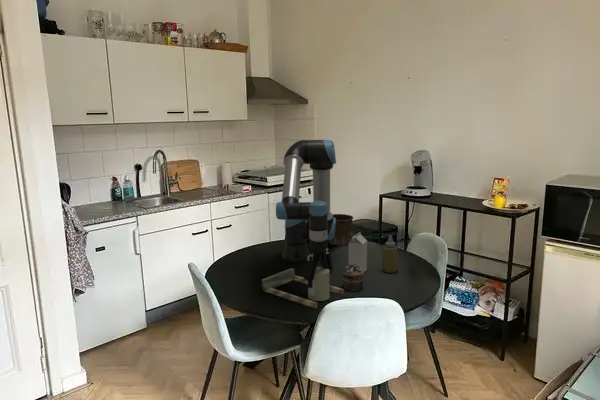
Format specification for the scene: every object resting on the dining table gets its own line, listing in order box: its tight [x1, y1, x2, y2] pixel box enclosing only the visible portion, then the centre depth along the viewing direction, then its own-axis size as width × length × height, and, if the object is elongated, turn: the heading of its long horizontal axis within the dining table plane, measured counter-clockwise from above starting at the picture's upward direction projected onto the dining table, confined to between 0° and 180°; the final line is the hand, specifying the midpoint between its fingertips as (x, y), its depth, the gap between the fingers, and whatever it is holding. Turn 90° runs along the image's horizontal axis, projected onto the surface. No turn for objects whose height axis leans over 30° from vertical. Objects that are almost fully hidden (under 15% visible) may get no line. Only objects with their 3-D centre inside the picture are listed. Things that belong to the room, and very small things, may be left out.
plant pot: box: [328, 213, 354, 247], centre depth 268 cm, size 16×16×16 cm
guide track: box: [261, 267, 345, 309], centre depth 195 cm, size 30×19×5 cm, turn 49°
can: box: [307, 266, 331, 302], centre depth 188 cm, size 9×9×12 cm
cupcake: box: [341, 264, 365, 292], centre depth 199 cm, size 10×10×10 cm
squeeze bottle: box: [381, 234, 399, 274], centre depth 218 cm, size 8×8×18 cm
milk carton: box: [348, 231, 368, 275], centre depth 218 cm, size 7×7×19 cm
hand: (318, 291), depth 189 cm, fingers closed on can, 9 cm apart
